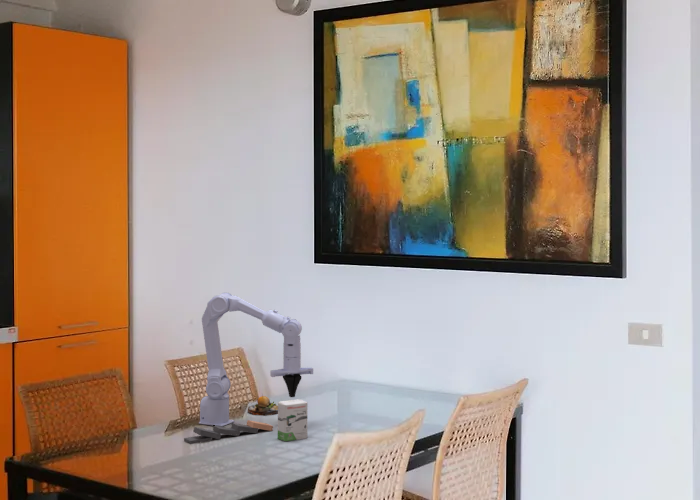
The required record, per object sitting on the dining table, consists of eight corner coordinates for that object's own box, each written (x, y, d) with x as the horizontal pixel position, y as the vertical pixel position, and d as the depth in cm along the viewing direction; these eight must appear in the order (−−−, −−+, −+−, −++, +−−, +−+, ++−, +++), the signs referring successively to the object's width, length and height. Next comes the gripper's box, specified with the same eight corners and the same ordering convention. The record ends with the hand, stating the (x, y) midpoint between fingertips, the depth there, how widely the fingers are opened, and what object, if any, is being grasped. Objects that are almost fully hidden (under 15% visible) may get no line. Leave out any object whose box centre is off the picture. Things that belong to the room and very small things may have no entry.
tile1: (272, 430, 308) (252, 427, 304) (265, 428, 312) (246, 424, 308) (273, 426, 308) (253, 422, 304) (266, 423, 312) (247, 420, 308)
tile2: (257, 433, 305) (237, 430, 301) (250, 430, 309) (230, 427, 304) (258, 428, 305) (238, 425, 301) (251, 425, 309) (232, 423, 305)
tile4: (219, 439, 297) (199, 434, 293) (213, 436, 300) (193, 431, 296) (221, 434, 297) (200, 429, 293) (214, 431, 301) (194, 426, 296)
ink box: (284, 441, 294) (284, 404, 294) (276, 438, 299) (276, 401, 298) (308, 438, 299) (308, 401, 299) (300, 434, 303) (300, 398, 303)
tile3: (239, 436, 301) (218, 433, 297) (233, 433, 305) (212, 430, 301) (240, 431, 301) (219, 428, 297) (234, 428, 305) (213, 425, 301)
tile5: (212, 442, 296) (190, 446, 292) (205, 439, 299) (184, 443, 295) (211, 437, 296) (190, 441, 291) (205, 434, 299) (184, 438, 295)
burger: (287, 411, 338) (287, 390, 337) (267, 417, 328) (267, 396, 327) (261, 407, 344) (261, 387, 344) (240, 413, 334) (240, 392, 334)
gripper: (308, 353, 320) (308, 392, 321) (267, 355, 315) (267, 396, 315) (315, 356, 314) (315, 396, 314) (274, 359, 308) (274, 400, 309)
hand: (292, 396), depth 314 cm, fingers closed
